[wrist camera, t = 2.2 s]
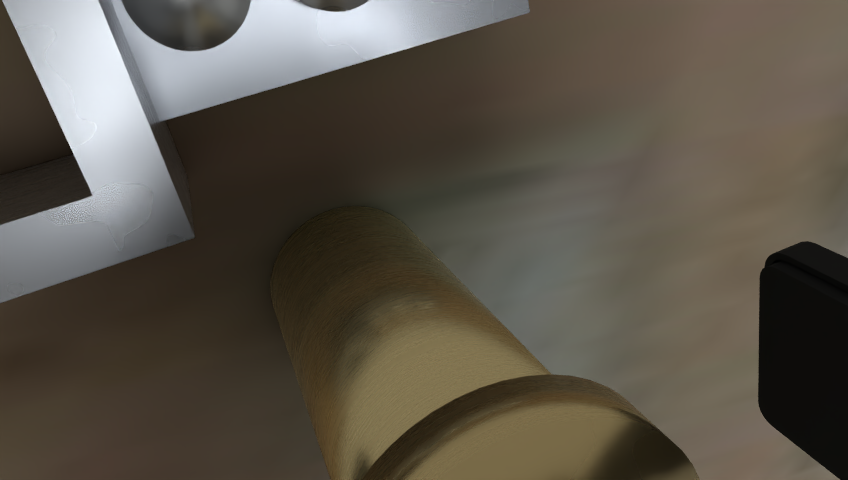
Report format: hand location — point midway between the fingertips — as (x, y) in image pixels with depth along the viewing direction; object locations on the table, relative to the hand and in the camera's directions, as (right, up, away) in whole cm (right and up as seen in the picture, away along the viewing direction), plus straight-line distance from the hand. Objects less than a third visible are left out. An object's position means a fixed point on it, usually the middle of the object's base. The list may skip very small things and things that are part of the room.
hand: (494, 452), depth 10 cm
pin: (-3, +2, +8) cm, 8 cm away
